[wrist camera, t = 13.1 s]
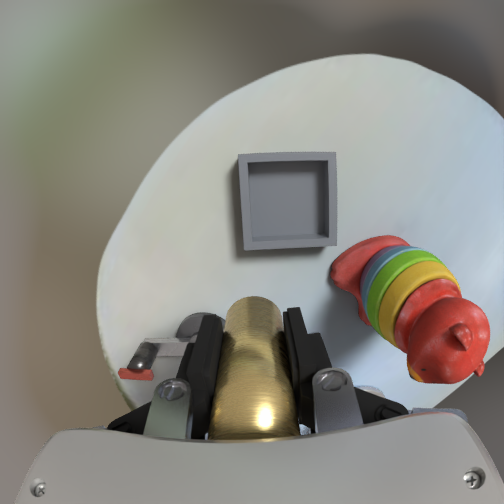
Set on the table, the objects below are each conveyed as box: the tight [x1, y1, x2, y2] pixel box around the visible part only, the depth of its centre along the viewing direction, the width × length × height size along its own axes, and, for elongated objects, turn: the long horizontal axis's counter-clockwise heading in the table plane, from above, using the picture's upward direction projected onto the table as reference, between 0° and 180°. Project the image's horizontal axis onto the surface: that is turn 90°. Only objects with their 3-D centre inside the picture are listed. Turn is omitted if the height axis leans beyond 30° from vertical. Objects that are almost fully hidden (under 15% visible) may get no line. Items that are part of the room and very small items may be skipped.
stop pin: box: [207, 296, 301, 440], centre depth 10 cm, size 3×3×8 cm
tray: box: [238, 152, 337, 250], centre depth 26 cm, size 9×9×3 cm
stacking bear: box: [330, 235, 490, 384], centre depth 21 cm, size 11×10×18 cm
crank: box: [118, 332, 198, 381], centre depth 28 cm, size 11×4×6 cm, turn 97°
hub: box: [176, 313, 225, 338], centre depth 32 cm, size 7×7×1 cm
